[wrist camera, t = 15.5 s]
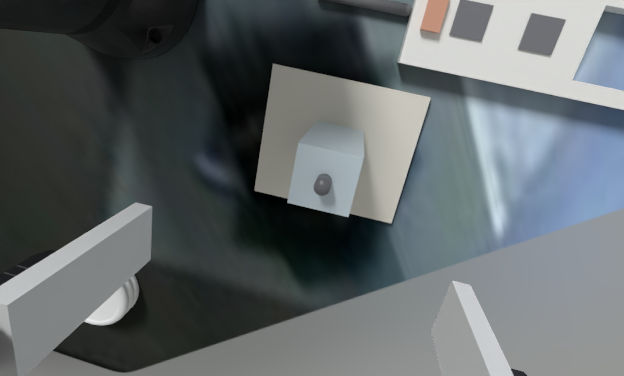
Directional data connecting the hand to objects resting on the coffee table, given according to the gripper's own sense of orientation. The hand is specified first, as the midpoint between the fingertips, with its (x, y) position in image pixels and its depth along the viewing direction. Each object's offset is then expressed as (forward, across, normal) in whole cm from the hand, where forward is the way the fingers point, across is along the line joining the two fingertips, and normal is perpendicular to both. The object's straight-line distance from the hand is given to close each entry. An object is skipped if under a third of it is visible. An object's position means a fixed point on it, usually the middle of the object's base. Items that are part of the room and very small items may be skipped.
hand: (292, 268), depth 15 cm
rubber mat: (+24, 0, 0) cm, 24 cm away
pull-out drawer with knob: (+24, 0, 0) cm, 24 cm away
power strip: (+24, +14, +14) cm, 31 cm away
